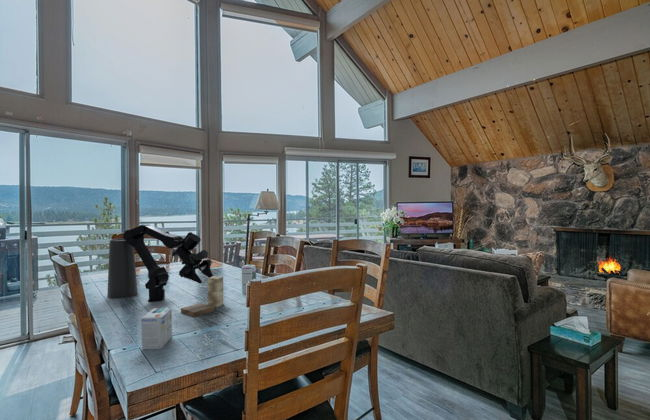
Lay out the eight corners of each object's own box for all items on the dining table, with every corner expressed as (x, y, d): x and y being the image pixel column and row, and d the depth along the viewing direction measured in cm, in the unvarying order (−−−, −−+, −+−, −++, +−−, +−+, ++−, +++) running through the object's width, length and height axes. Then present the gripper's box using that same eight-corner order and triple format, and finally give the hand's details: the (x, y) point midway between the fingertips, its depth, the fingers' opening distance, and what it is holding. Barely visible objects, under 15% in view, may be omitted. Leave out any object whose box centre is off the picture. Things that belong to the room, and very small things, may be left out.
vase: (101, 297, 184) (99, 240, 183) (124, 290, 197) (123, 237, 196) (120, 299, 179) (119, 241, 178) (143, 293, 192) (142, 238, 191)
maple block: (207, 306, 168) (207, 278, 167) (214, 303, 172) (213, 276, 172) (217, 306, 166) (217, 278, 166) (223, 303, 171) (223, 276, 171)
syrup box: (252, 294, 188) (252, 266, 188) (241, 293, 189) (241, 266, 189) (256, 291, 194) (256, 264, 193) (246, 291, 195) (245, 264, 194)
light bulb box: (153, 337, 129) (152, 307, 129) (172, 337, 130) (172, 307, 130) (140, 350, 119) (140, 317, 118) (162, 349, 119) (161, 316, 119)
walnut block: (180, 313, 158) (180, 308, 158) (200, 308, 166) (200, 302, 166) (194, 318, 152) (194, 312, 152) (214, 312, 160) (214, 306, 160)
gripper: (183, 247, 162) (205, 273, 159) (208, 242, 180) (228, 265, 177) (169, 264, 165) (190, 289, 162) (195, 257, 183) (214, 280, 180)
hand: (207, 280), depth 170 cm, fingers open, 9 cm apart
